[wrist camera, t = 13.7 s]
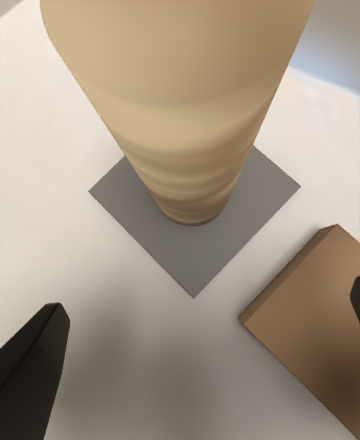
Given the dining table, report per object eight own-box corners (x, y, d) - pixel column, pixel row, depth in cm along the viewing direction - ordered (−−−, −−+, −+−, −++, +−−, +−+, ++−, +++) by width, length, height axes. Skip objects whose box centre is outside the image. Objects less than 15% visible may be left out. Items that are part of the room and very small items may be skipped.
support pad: (193, 297, 16) (193, 298, 16) (90, 193, 18) (88, 191, 17) (298, 188, 17) (301, 186, 16) (191, 96, 18) (190, 92, 18)
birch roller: (175, 239, 16) (103, 154, 4) (143, 175, 17) (3, -61, 5) (242, 205, 16) (375, 21, 4) (208, 143, 17) (231, -171, 5)
